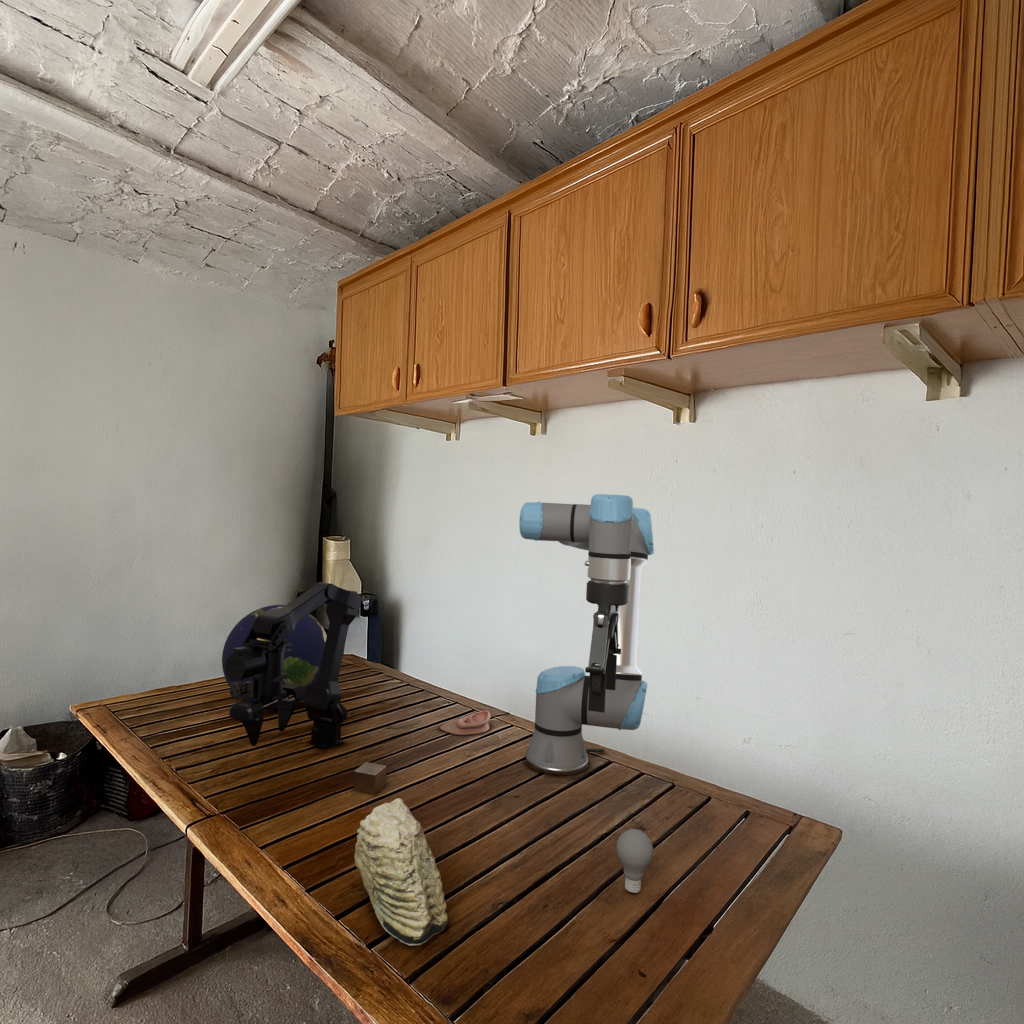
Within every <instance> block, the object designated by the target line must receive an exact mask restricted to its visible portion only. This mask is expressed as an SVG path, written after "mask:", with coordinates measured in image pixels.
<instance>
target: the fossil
mask: <svg viewBox="0 0 1024 1024" xmlns="http://www.w3.org/2000/svg"><path fill="white" fill-rule="evenodd" d="M356 831H357V832H356V833H357V835H356V840H357V841H356V843H355V846H354V847H355V848H354V850H355V851H354V864H355V867H356V868H357V870H358V871H359V874H360V877H361V880H362V884H363V888H364V890H365V892H366V893H367V895H368V897H369V901H370V903H371V905H372V908H373V910H374V913H375V916H376V918H377V920H378V922H379V923H380V925H381V926H382V928H383V929H384V931H385V932H387V933H388V934H389V935H390V936H392V937H393V938H395V939H397V940H398V941H399V942H400V943H403V944H405V945H407V946H409V947H410V946H421V945H423V944H425V943H427V942H428V940H430V939H431V938H432V937H433V936H435V935H438V934H439V933H441V932H443V931H444V929H445V928H446V926H447V925H448V924H449V917H448V914H447V903H446V901H445V892H444V890H443V887H444V886H443V881H442V880H441V879H442V878H441V876H442V875H441V873H440V870H439V869H438V867H437V863H436V858H435V857H434V854H433V851H432V849H431V848H430V845H429V843H428V841H427V838H426V836H425V835H426V834H425V832H424V828H423V827H422V825H421V822H420V821H418V820H417V819H416V818H415V816H413V814H412V812H411V810H410V809H409V807H408V806H407V805H406V804H405V802H404V800H403V799H402V798H401V797H397V798H395V799H393V800H392V801H390V802H384V803H383V804H380V805H377V806H376V807H374V808H372V811H371V813H369V814H368V815H367V816H365V818H364V819H363V820H360V822H359V828H357V830H356Z"/></svg>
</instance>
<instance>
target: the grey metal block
mask: <svg viewBox="0 0 1024 1024" xmlns="http://www.w3.org/2000/svg"><path fill="white" fill-rule="evenodd" d="M386 783H387V765H384V764H379V763H374V762H367V761H366V762H364V763H363V764H361V765H360V766H359V767H357V768H356V769H355V770H354V771H353V791H356V792H362V793H367V794H371V795H375V794H377V793H379V791H380V790H381V789H382V788H384V786H386Z"/></svg>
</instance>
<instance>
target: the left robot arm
mask: <svg viewBox="0 0 1024 1024" xmlns="http://www.w3.org/2000/svg"><path fill="white" fill-rule="evenodd" d="M323 604H325V614H326V616H327V619H328V628H327V633H326V635H327V637H326V642H325V647H324V652H323V656H322V661H321V666H320V671H319V676H318V679H317V681H316V682H315V683H314V684H313V685H312V686H310V685H309V686H308V688H307V693H306V697H305V689H304V687H303V686H302V685H298V684H292V683H285V684H283V679H285V678H287V673H283V671H284V649H285V648H288V647H291V644H290V643H289V642H288V641H287V640H286V638H287V637H288V636H289V635H290V634H291V633H292V632H293V631H294V629H295V625H296V623H297V622H298V621H300V620H301V619H303V618H304V617H305V616H307V615H308V614H311V613H312V612H314V611H315V610H317V609H318V608H320V607H321V606H322V605H323ZM361 604H362V598H361V597H360V595H359V593H358V592H357V591H356V590H348V589H345V588H342V587H339V586H337V585H335V584H334V583H331V582H330V583H329V582H323V581H322V582H321V581H319V582H316V583H315V584H314V585H312V587H310V588H309V589H308V590H306V591H304V593H302V594H300V595H299V596H297V597H296V598H295V599H293V600H292V601H290V602H288V603H287V604H285V605H286V606H284V607H282V608H278V609H274V610H270V611H267V612H265V613H262V614H260V615H259V616H258V617H256V619H255V622H254V624H253V626H252V627H251V629H250V631H249V633H248V635H247V636H246V638H245V640H244V642H243V644H242V645H243V646H245V647H241V648H239V647H238V648H233V653H232V655H230V656H229V657H228V658H227V660H226V663H225V672H226V674H227V676H228V677H229V678H230V679H231V680H233V681H237V682H234V683H231V684H230V687H229V694H230V697H231V698H235V699H236V701H237V700H240V701H238V702H236V703H233V704H232V705H231V706H230V707H229V713H228V715H229V718H230V719H233V720H234V721H238V722H240V723H241V724H242V725H243V728H244V729H245V733H246V735H247V738H248V740H249V743H250V746H253V747H256V746H257V745H258V743H259V738H260V735H261V730H262V727H263V724H264V720H265V717H264V716H263V715H264V712H265V708H264V707H266V706H268V705H271V704H273V703H275V704H276V705H277V707H278V708H277V726H278V731H279V732H281V733H283V732H284V731H285V729H286V728H287V726H288V724H289V722H290V721H291V718H292V717H293V714H294V713H295V711H296V709H297V707H298V706H299V704H300V703H302V700H301V698H304V697H305V698H304V699H303V703H304V709H305V711H306V714H307V719H309V720H313V721H312V722H313V723H312V727H311V730H310V731H311V732H310V733H311V735H310V739H309V740H308V743H309V744H310V745H313V746H314V747H316V748H318V749H320V750H327V749H329V748H333V747H336V746H340V745H343V744H344V743H345V741H344V740H343V739H341V737H342V735H341V733H342V724H343V723H344V721H346V720H347V717H348V714H349V711H348V710H347V708H346V707H345V706H344V704H342V691H341V688H340V687H341V686H340V685H339V677H340V671H341V668H342V667H341V666H342V663H343V656H344V651H345V646H346V642H347V636H348V631H349V627H350V625H351V624H352V622H353V621H354V620H355V619H356V618H357V617H358V614H359V610H360V608H361ZM257 638H259V639H264V640H270V642H268V641H262V640H256V639H257ZM249 677H251V681H247V682H244V683H242V681H239V680H242V679H245V678H249ZM246 696H249V699H256V700H257V701H255V702H254V701H248V700H241V698H243V697H246Z"/></svg>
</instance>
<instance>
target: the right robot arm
mask: <svg viewBox="0 0 1024 1024" xmlns="http://www.w3.org/2000/svg"><path fill="white" fill-rule="evenodd" d="M518 522H519V523H518V524H519V534H520V536H521V538H523V539H525V540H531V541H537V542H538V541H541V542H544V541H545V542H558V543H560V544H561V545H563V546H568V547H572V548H575V549H578V550H583V551H587V557H588V558H587V560H585V561H584V566H585V567H588V568H587V575H586V576H587V578H588V579H589V580H587V582H586V588H585V590H586V591H585V592H586V593H585V601H587V602H588V603H590V604H592V605H597V611H596V612H593V615H592V616H593V617H592V618H593V621H592V624H593V625H592V632H591V633H592V634H591V641H590V649H589V657H588V665H587V666H585V669H584V668H582V667H580V666H575V665H561V666H554V667H549V668H546V669H544V670H541V672H539V673H538V676H537V681H536V688H535V715H534V719H535V720H534V731H533V734H532V736H531V739H530V741H529V744H528V746H527V745H526V753H525V763H526V764H527V766H528V767H529V768H530V769H533V770H534V771H537V772H539V773H543V774H546V775H551V776H573V775H577V774H580V773H582V772H584V771H585V770H586V769H587V768H588V765H589V756H588V753H599V754H600V753H605V749H604V748H587V747H586V744H585V741H584V737H583V726H592V727H599V728H608V729H616V730H618V731H621V730H625V731H636V730H637V729H639V728H640V726H641V722H642V718H643V713H644V707H645V700H646V695H647V691H648V690H647V689H648V682H647V681H645V680H642V679H643V673H642V671H641V670H640V669H639V667H638V666H637V656H638V655H637V654H638V636H639V635H638V634H639V632H638V631H639V616H640V615H639V614H640V599H641V598H640V596H641V594H640V593H641V580H642V579H641V578H642V577H641V576H642V568H643V567H644V566H645V565H646V564H647V563H648V559H649V556H652V555H654V553H655V549H654V536H653V535H654V534H653V523H652V514H651V512H650V510H648V509H646V508H644V507H643V508H642V507H634V500H633V498H632V496H630V495H624V494H605V493H604V494H601V493H600V494H599V493H596V494H594V495H592V496H591V499H590V504H582V503H581V504H580V503H577V504H576V503H558V502H541V501H536V502H534V501H533V502H529V501H528V502H525V503H523V505H522V506H521V509H520V513H519V521H518ZM586 673H587V674H588V673H589V675H586Z"/></svg>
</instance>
